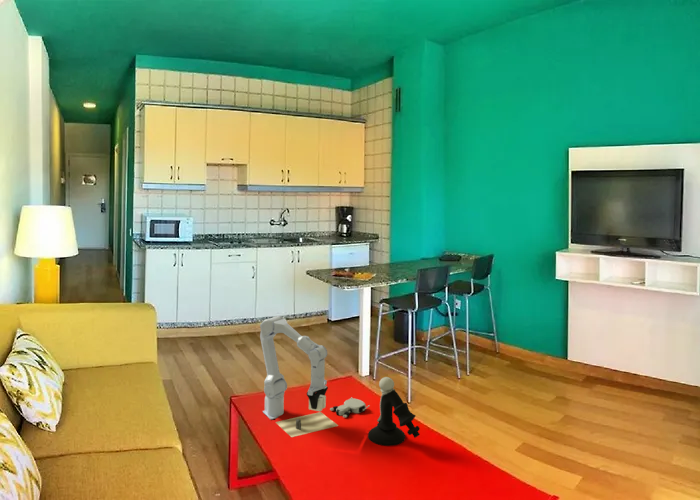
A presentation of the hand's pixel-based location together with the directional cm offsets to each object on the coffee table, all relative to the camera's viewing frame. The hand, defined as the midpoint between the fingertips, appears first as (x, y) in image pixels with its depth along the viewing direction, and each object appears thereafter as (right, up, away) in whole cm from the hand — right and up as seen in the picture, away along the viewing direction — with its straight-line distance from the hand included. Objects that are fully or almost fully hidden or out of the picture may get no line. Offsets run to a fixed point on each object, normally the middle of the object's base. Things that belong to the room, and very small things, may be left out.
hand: (317, 406), depth 222 cm
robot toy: (+14, -8, +15) cm, 22 cm away
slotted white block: (0, -1, 0) cm, 1 cm away
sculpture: (+32, -11, -11) cm, 36 cm away
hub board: (-4, -9, +1) cm, 10 cm away
